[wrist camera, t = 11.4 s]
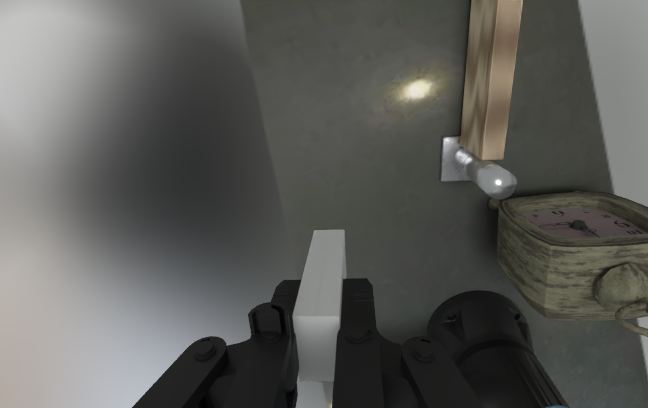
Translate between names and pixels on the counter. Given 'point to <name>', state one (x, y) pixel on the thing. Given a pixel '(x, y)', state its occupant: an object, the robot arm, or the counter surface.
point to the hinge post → (474, 169)
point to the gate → (489, 76)
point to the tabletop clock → (577, 255)
